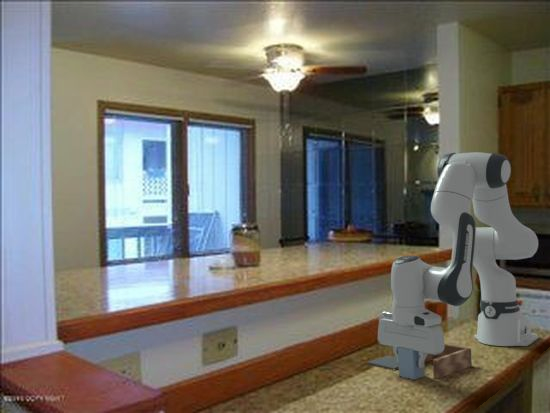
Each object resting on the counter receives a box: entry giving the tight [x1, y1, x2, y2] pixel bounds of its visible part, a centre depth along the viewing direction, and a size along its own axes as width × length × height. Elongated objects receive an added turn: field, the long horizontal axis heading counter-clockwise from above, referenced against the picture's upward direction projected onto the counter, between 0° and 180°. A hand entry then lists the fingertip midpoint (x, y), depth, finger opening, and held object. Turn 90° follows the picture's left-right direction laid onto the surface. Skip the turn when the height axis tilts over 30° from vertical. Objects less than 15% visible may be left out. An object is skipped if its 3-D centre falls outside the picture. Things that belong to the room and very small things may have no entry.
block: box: [398, 347, 426, 381], centre depth 157 cm, size 5×5×8 cm
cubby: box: [397, 343, 473, 380], centre depth 164 cm, size 17×13×5 cm
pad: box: [366, 355, 398, 370], centre depth 170 cm, size 10×10×1 cm
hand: (410, 365), depth 157 cm, fingers closed on block, 5 cm apart
